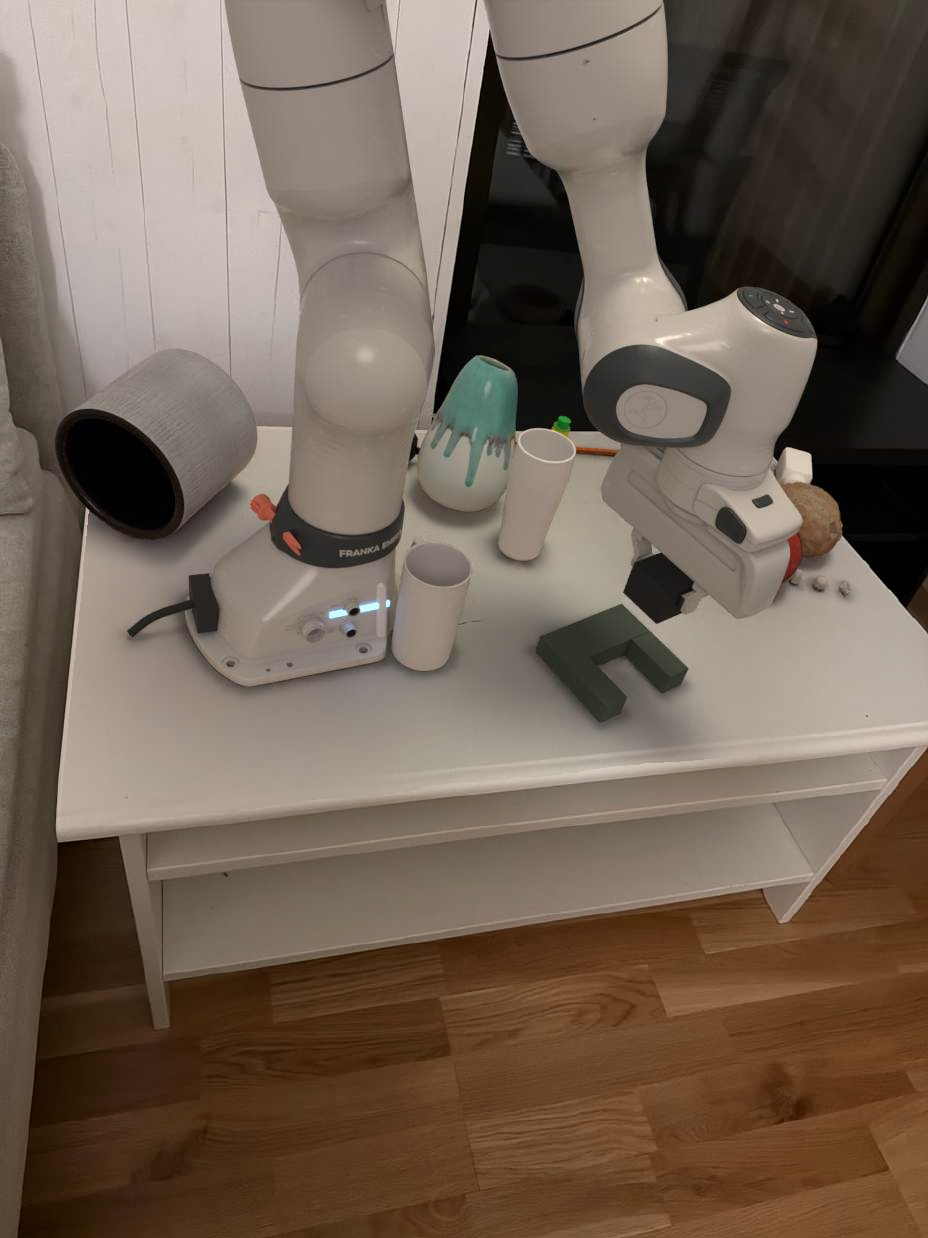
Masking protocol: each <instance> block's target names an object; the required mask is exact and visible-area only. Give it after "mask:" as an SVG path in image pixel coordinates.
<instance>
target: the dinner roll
mask: <svg viewBox="0 0 928 1238" xmlns="http://www.w3.org/2000/svg"><path fill="white" fill-rule="evenodd" d="M780 486H781V488H782V489H783V491H784V492H785V494H786V495H787V497H788V498H789V499H790V501H791V502H792V503H793V505H794V506H795V507H796V509H797V510H798V511H799V513H800V515H801V517H802V526H801V528H800V530H799V531H798V532H799V534H800V537H801V540H802V546H803V553H802V558H806V559H814V558H817V557H822V556H824V555H826V554H828V553H830V552H832V550H834V549H835V547H836V546H837V543H839V541H840V540H841V539H842V537H843V526H844V525H843V523H842V520H841V511H840V509H839V503H838V502H837V501H836V500H835V499H834V497H833V496H832V495H831V494H829V493H828V492H827V491H825V490H824V489H823V488H821V487H819V486H817V485H813V484H811V483H810V484H807V483H803V482H794V483H787V484H786V485H785V484H780Z"/></svg>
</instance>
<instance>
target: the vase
mask: <svg viewBox="0 0 928 1238" xmlns="http://www.w3.org/2000/svg"><path fill="white" fill-rule="evenodd" d="M518 393H519V389H518V380H517V376H516V373H515V371H514V370H513V369H512V368H511V367H510V366H508V365H507V364H505V363H503V362H501V361H499V360H497V359H495V358H493V357H489V356H485V355H475V356H474V357H472V358H471V359H470V360H469V361H468V362H467V363H465V365H464V366H463V368H462V369H461V370H460V371H459V373H458V375H456V378H455V379H454V381H453V383H452V385H451V387H450V389H449V391H448V393H447V395H446V397H445V399H444V401H443V402H442V403H441V406H440V407H439V409H438V410H437V412H436V413H435V414H436V416H435V418H433V420H432V422H431V423H430V425H429V428H428V430H427V431H426V433H425V435H424V437H423V440H422V441H421V445H420V446H419V447H420V450H419V454H418V455H417V458H416V472H417V473H416V474H417V478H418V481H419V484H420V486H421V489H422V490H423V491H424V493H425V495H427V496H428V498H430V499H431V500H433V501H434V502H435V503H437V504H439V505H441V506H443V507H446V508H448V509H450V510H455V511H459V512H465V513H467V512H469V513H470V512H471V513H472V512H473V513H474V512H480V511H483V510H486V509H488V508H491V506H493V505H494V504H496V503H497V502H498V501H499V500H500V499H501V498H502V496H503V495H504V494H505V493H506V490H507V483H508V476H509V470H510V465H511V460H512V456H513V453H514V449H515V445H516V442H517V436H516V435H517V434H516V431H517V427H516V426H517V425H516V424H517V410H518V397H519V396H518Z"/></svg>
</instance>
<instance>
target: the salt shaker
mask: <svg viewBox="0 0 928 1238" xmlns="http://www.w3.org/2000/svg"><path fill="white" fill-rule="evenodd" d="M775 478H776V480H777V481H778V483H779V485H780V484H785V485H786V484H787V483H794V482H803V483H807V484H811V482H812V480H813V462H812V454H811V453H809V452H807V451H804V450H799V449H796V448H794V447H793V448H792V447H788V446H787V447H785V448H784V449H783V450H782V452H781V454H780V456H779V459H778V461H777V463H776V465H775Z"/></svg>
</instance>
